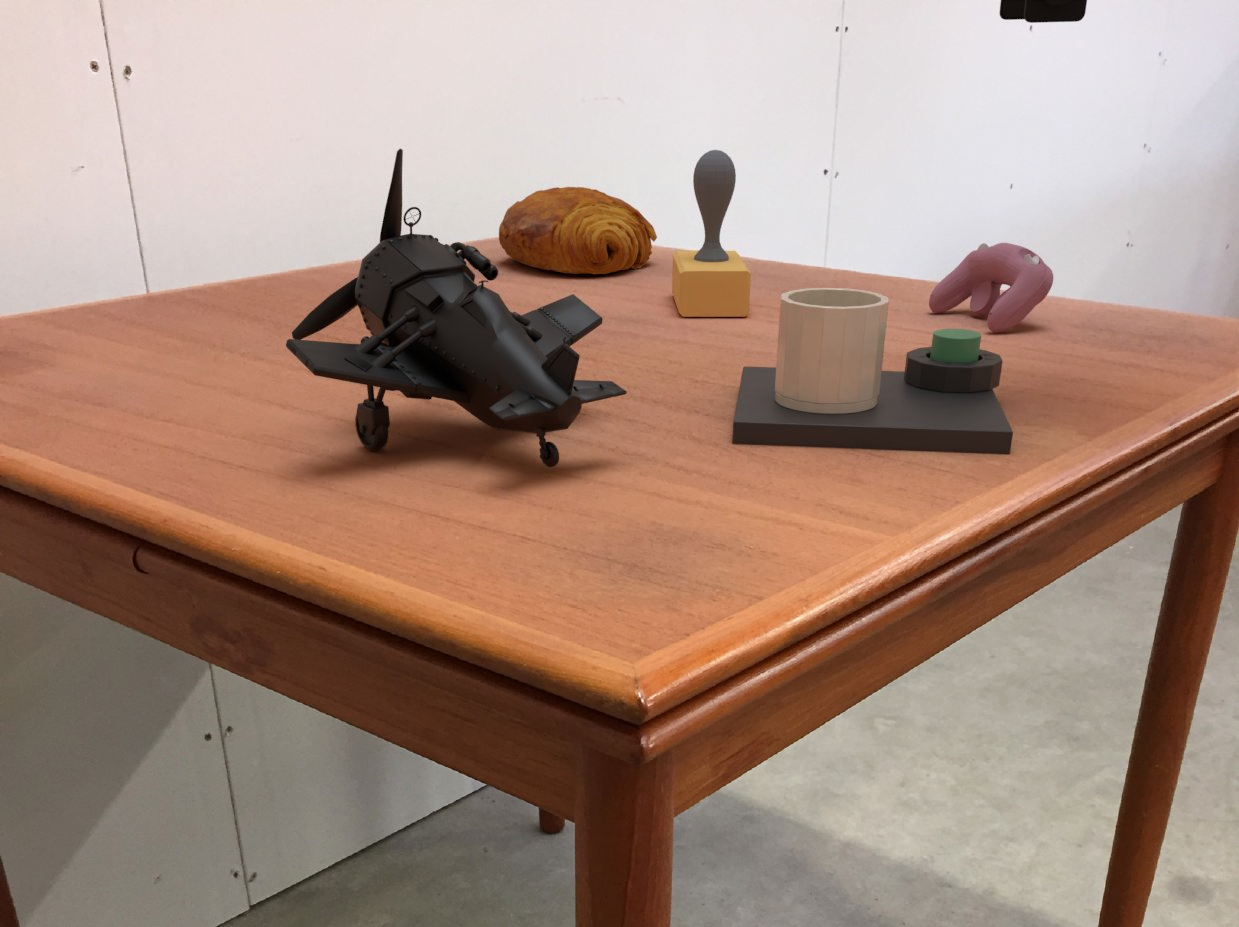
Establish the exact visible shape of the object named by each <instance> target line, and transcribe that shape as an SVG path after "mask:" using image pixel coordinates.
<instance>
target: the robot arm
mask: <svg viewBox="0 0 1239 927" xmlns="http://www.w3.org/2000/svg"><path fill="white" fill-rule="evenodd" d="M1087 3H1088V0H1000V3H999V5H1000V6H999V17H1000V18H1001V19H1002V20H1005V21H1012V20H1014V21H1015V20H1024V21H1026V22H1027V23H1033V24H1034V23H1038V24H1039V23H1069V22H1070V23H1073V22H1074V23H1076V22H1081V21H1082V20H1083V19H1084V17H1085V15H1086V12H1087V11H1086V10H1087Z"/></svg>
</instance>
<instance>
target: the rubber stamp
mask: <svg viewBox="0 0 1239 927" xmlns="http://www.w3.org/2000/svg"><path fill="white" fill-rule="evenodd" d="M692 177H693V179H692V180H693V181H692V182H693V183H692V184H693V191H694V196H695V200H696V203H697V206H698V210H699V212H700V216H701V220H702V224H703V229H704V241H703V244H702V246H701V248H700V249H699V250H675V252H674V253H673V254H672V272H671V274H672V275H671V276H672V277H671V293H672V295H673V299H674V302H675V306H676V308H677V311H678V313H679V314H680V315H681V316H682V317H683V318H716V317H717V318H744V317H747V315H748V314H749V313H750V301H751V299H750V298H751V281H752V273H751V271H750V268H748V266H747V265H746V263H745V261H744V260H743V258H742V257H741V256H740V254H739V253H738V251H737V250H725V249H724V248H723V246H722V244H721V241H720V240H721V237H720V236H721V230H722V225H723V222H724V220H725V217H726V214H727V211H728V209H729V206H730V204H731V201H732V199H733V195H734V191H735V188H736V178H737V174H736V167H735V164H734V162H733V160H732V157H731V156H729V155H728V153H726V152H724V151H722V150H719V149H712V150H709V151H707V152H705V153H703V154H702V155H701V156H700V158H699V159H698V160H697V162H696V164H695V167H694V171H693V176H692Z"/></svg>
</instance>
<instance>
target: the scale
mask: <svg viewBox="0 0 1239 927" xmlns="http://www.w3.org/2000/svg"><path fill="white" fill-rule="evenodd" d="M930 354H931V346H925V347H924V346H923V347H918V348H915V349H912V350H910V351H907V352H906V356H905V365H904V371H903V370H902V371H897V370H882V372H881V382H880V392H879V395H878V404H877V405H876V406H875V407H874V408H872V409H869V410H866V411H862V412H857V413H848V414H818V413H809V412H802V411H797V410H792V409H789V408H786V407H783V406H781V405H779V404H778V403H776V401H775V399H774V396H775V379H776V366H775V367H774V366H773V367H772V366H742V372H741V377H740V383H739V388H738V394H737V400H736V406H735V411H734V418H733V423H732V440H731V441H732V444H733V445H750V446H755V445H756V446H777V447H778V446H779V447H803V448H804V447H805V448H826V449H827V448H829V449H853V450H855V449H856V450H882V451H887V450H888V451H906V452H907V451H908V452H909V451H910V452H936V453H960V454H961V453H962V454H987V455H988V454H990V455H1010V454H1011V449H1012V442H1013V435H1014V431H1013V429H1012V427H1011V424H1010V423H1009V420H1008V418H1007V416H1006V415H1005V412H1004V410H1003V408H1002V406H1001V404H1000V401H999V400H998V397H997V396H996V393H995V391H994V389H995V388H997V387H999V386H1000V381H1001V375H1002V367H1003V362H1004V361H1003V358H1002V357H1001V355H1000V354H998V353H994V352H992V351H989V350H986V349H981V348H980V349H979V356H978V361H977V362H969V363H955V362H944V361H937V360H933V359H930Z"/></svg>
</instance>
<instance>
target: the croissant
mask: <svg viewBox="0 0 1239 927" xmlns="http://www.w3.org/2000/svg"><path fill="white" fill-rule="evenodd" d="M657 238H658V235H657V233H656V230H655V228H654V226H653V225H652V224H651V223H650V222H649V221H648V219H646V217H644V216H643V214H642V213H641V212H640V211H639V210H638V209H636V208H635V207H633V205H631V204H629V203H627V202H626V201H625V200H623V199H622V198H618V197H615V196H611V195H609V194H607V193H605V192H603V191H600V190H598V189H593V188H590V187H584V186H577V187H576V186H565V187H551V188H548V189H541V190H535V191H534V192H532V193H531V194H529V195H528V196H526V197H524V198H523V199H522V200H517V201H516V202H515V203H513V204H512V205H511V206H510V207H508V208H507V210H506V212H505V214H504V216H503V219H502V221H501V223H500V224H499V227H498V241H499V245H500V246H501V248H502V249H503V250H504V252H505V254H506V255H507V256H508V257H509V258H511V259H513V260H515V261H516V262H517V263H520V264H523V265H525V266H529V267H532V268H534V269H541V270H545V271H553V272H557V273H562V274H572V275H573V274H574V275H579V274H587V275H589V274H590V275H591V274H592V275H601V274H602V275H607V274H611V273H615V272H618V271H625V270H629V269H632V270H635V269H641V268H642V267H643V266H645V265H646V264H647V263H648V261H649V260H650V256H651V255H652V254H653V251H652V248H653V246H652V242H653V243H654V242H655V241H656V240H657Z"/></svg>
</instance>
